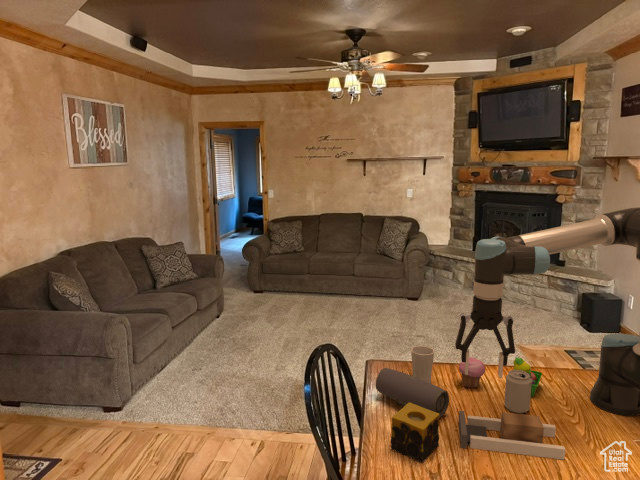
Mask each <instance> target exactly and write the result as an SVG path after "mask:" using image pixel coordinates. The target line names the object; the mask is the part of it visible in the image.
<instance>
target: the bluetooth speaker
mask: <svg viewBox="0 0 640 480" xmlns="http://www.w3.org/2000/svg"><path fill="white" fill-rule="evenodd" d="M375 389H376V390H377V392H379V393H381V394H382V395H383V396H386V397H388V398H390V399H391V400H394V401H395V402H396V403H397V404H398V405H400V407H402V408H403V407H404V406H405V405H406V404H408V403H412V404H415V405H418V406H420V407H423V408H425V409H428V410H430V411H433V412H436V413H439V414H440V416H439V418H441V417H443V416H444V415H445V414H446V412H447V410H448V408H449V404H450V396H449V392H448V391H447V390H445V389H443V388H442V387H440V386H438V385H435V384H433V383H428V382H426V381H423V380H421V379H418V378H416V377H413V375H410V374H407V373H405V372H402V371H399V370H396V369H392V368H388V367H384V368H382V369H380V370H379V372H378V374H377V377H376V380H375Z"/></svg>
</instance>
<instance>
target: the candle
mask: <svg viewBox="0 0 640 480" xmlns="http://www.w3.org/2000/svg"><path fill="white" fill-rule="evenodd" d="M439 416H440V414H439V413H436V412H433V411H430V410H428V409H425V408H423V407H420V406H418V405H415V404H412V403H408V404H406V405H405V406H404V407H403V406H402V408H401V409H399V410H398V412H396V413H395V414H394V415H392V417H391V434H390V449H391V450H393V451H395V452H397V453H399V454H401V455H403V456H406V457H408V458H410V459H412V460H415V461H417V462H419V463H423V462H425V460H427V459H428V457H429V456H430V455H432V453H433V452H434V451H435V450H436V449H437V448H438V447H439V446H440V443H439V441H440V435H439V433H440V432H439V427H440V424H439V423H440V417H439Z"/></svg>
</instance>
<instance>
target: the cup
mask: <svg viewBox="0 0 640 480" xmlns="http://www.w3.org/2000/svg"><path fill="white" fill-rule="evenodd" d="M410 350H411V352H410V353H411V354H410V355H411V366H412V367H411V370H412V376H413V377H416V378H418V379H421V380H423V381H426V382H428V383H431V382H432V372H433V364H434V358H435V357H434V356H435V350H434V348H432V347H430V346H425V345H417V346H412V348H410ZM431 384H432V383H431Z"/></svg>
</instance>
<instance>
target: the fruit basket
mask: <svg viewBox="0 0 640 480" xmlns="http://www.w3.org/2000/svg"><path fill="white" fill-rule="evenodd" d="M513 370H521V371H524V372H527V373H528V374H529V375H530V378H531V380H532V384H531V397H530V398H534V396H535V394H536V391H537V388H538V386H539V383H540V382H541V378H542V376H543V373H542V372H541V371H537V370H532V367H531V365H530V364H529V363H528V362H527V361H526V360H524V359H523V358H522V357H520V356H519V357H517V356H516V357H515V359H514V360H513Z"/></svg>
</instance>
